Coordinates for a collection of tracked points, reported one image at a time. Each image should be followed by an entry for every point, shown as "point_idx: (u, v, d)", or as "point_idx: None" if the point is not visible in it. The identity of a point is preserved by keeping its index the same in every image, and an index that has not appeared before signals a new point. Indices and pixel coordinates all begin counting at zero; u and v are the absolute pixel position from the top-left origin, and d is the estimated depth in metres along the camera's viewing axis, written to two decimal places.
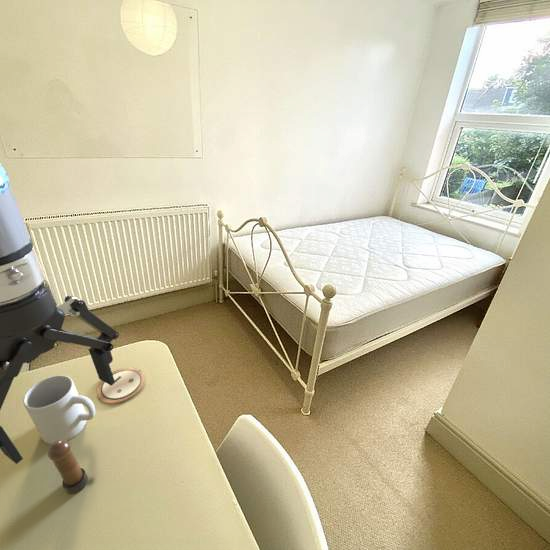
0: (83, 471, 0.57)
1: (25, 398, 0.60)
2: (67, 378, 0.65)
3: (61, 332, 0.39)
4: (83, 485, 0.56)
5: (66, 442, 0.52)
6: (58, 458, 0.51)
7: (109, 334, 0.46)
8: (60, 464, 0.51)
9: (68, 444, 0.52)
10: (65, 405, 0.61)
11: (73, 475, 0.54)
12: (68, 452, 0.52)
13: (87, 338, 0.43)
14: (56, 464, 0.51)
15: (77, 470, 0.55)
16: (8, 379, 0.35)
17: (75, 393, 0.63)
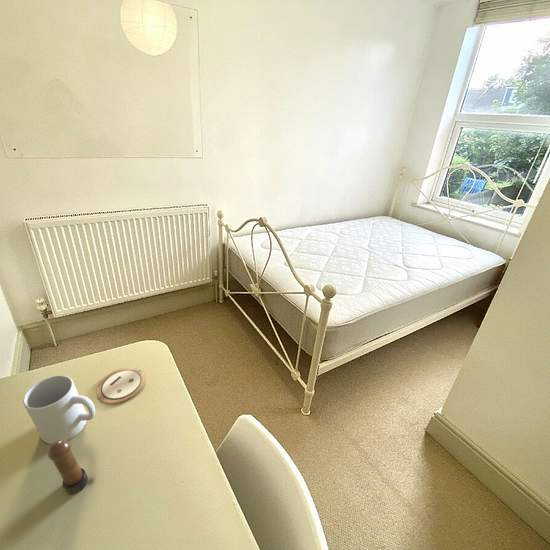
0: (83, 471, 0.57)
1: (25, 398, 0.60)
2: (67, 378, 0.65)
3: None
4: (83, 485, 0.56)
5: (66, 442, 0.52)
6: (58, 458, 0.51)
7: None
8: (60, 464, 0.51)
9: (68, 444, 0.52)
10: (65, 405, 0.61)
11: (73, 475, 0.54)
12: (68, 452, 0.52)
13: None
14: (56, 464, 0.51)
15: (77, 470, 0.55)
16: None
17: (75, 393, 0.63)
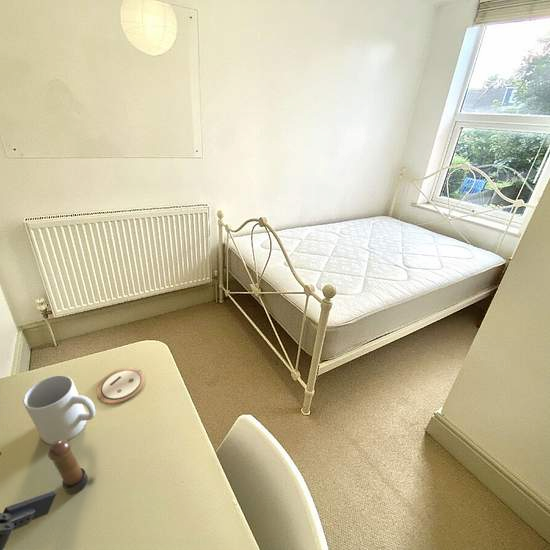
0: (83, 471, 0.57)
1: (25, 398, 0.60)
2: (67, 378, 0.65)
3: None
4: (83, 485, 0.56)
5: (66, 442, 0.52)
6: (58, 458, 0.51)
7: None
8: (60, 464, 0.51)
9: (68, 444, 0.52)
10: (65, 405, 0.61)
11: (73, 475, 0.54)
12: (68, 452, 0.52)
13: None
14: (56, 464, 0.51)
15: (77, 470, 0.55)
16: None
17: (75, 393, 0.63)
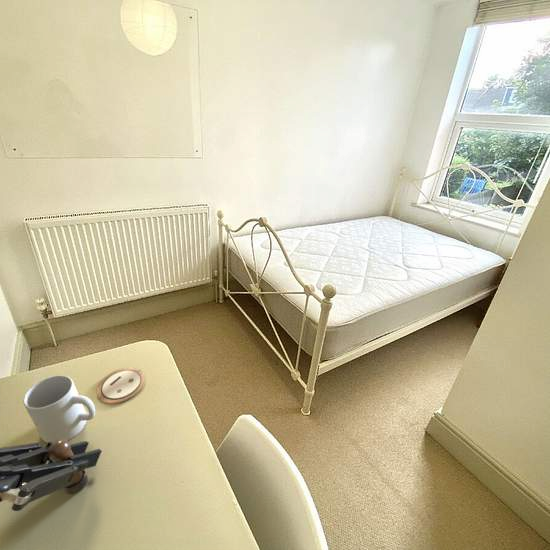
0: (83, 471, 0.57)
1: (25, 398, 0.60)
2: (67, 378, 0.65)
3: None
4: (83, 485, 0.56)
5: (66, 442, 0.52)
6: (58, 458, 0.51)
7: None
8: None
9: (68, 444, 0.52)
10: (65, 405, 0.61)
11: None
12: (68, 452, 0.52)
13: None
14: None
15: None
16: None
17: (75, 393, 0.63)
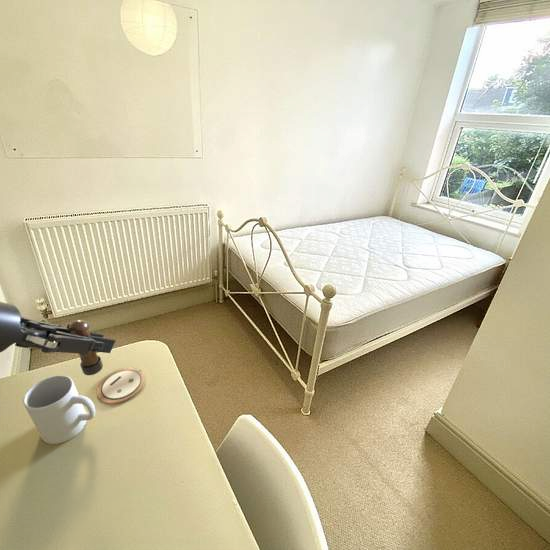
0: (99, 357, 0.62)
1: (25, 398, 0.60)
2: (67, 378, 0.65)
3: (33, 346, 0.49)
4: (99, 368, 0.62)
5: (85, 322, 0.58)
6: (78, 333, 0.56)
7: None
8: None
9: (86, 323, 0.58)
10: (65, 405, 0.61)
11: (90, 356, 0.60)
12: (86, 330, 0.57)
13: None
14: None
15: (94, 352, 0.60)
16: None
17: (75, 393, 0.63)
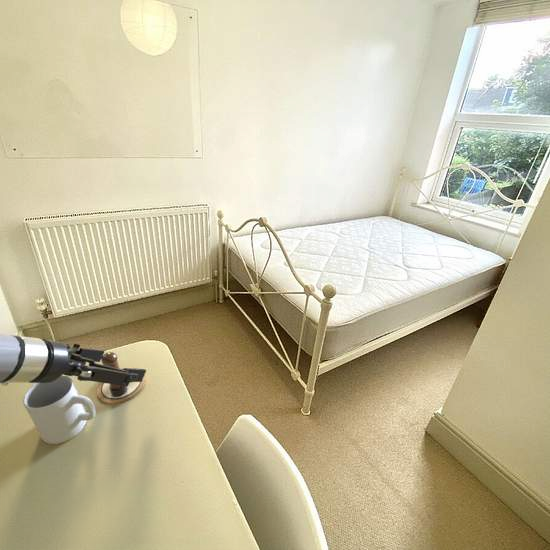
0: None
1: (25, 398, 0.60)
2: (67, 378, 0.65)
3: (75, 375, 0.59)
4: (124, 391, 0.74)
5: (114, 353, 0.70)
6: (109, 363, 0.68)
7: None
8: None
9: (116, 355, 0.70)
10: (65, 405, 0.61)
11: None
12: (116, 360, 0.69)
13: None
14: None
15: None
16: None
17: (75, 393, 0.63)
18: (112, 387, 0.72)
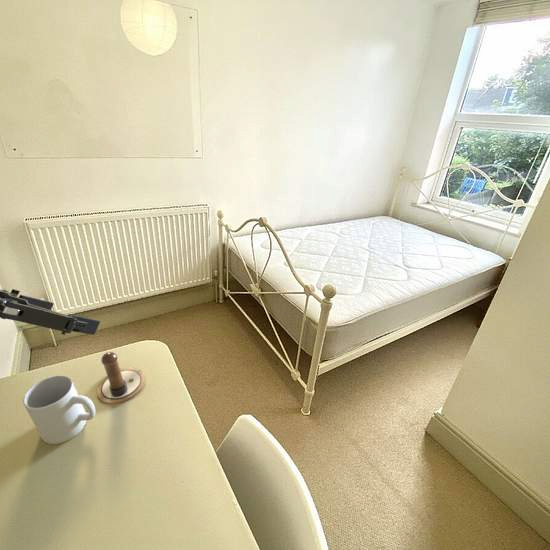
0: (124, 381, 0.74)
1: (25, 398, 0.60)
2: (67, 378, 0.65)
3: None
4: (124, 391, 0.74)
5: (114, 353, 0.70)
6: (109, 363, 0.68)
7: None
8: (110, 369, 0.69)
9: (116, 355, 0.70)
10: (65, 405, 0.61)
11: (118, 381, 0.72)
12: (116, 360, 0.69)
13: None
14: (107, 369, 0.69)
15: (121, 378, 0.72)
16: None
17: (75, 393, 0.63)
18: (112, 387, 0.72)
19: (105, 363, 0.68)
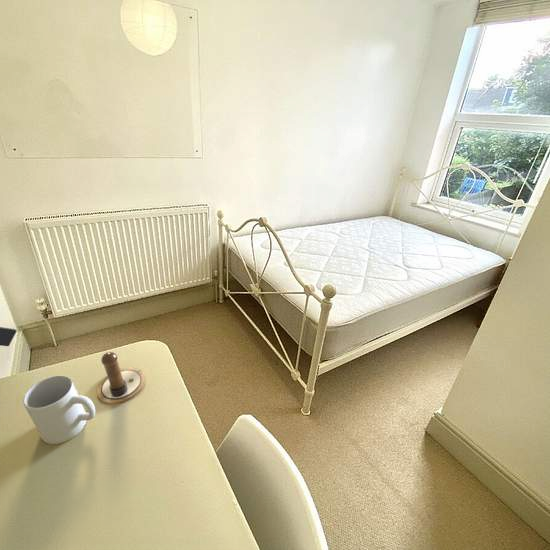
0: (124, 381, 0.74)
1: (25, 398, 0.60)
2: (67, 378, 0.65)
3: None
4: (124, 391, 0.74)
5: (114, 353, 0.70)
6: (109, 363, 0.68)
7: None
8: (110, 369, 0.69)
9: (116, 355, 0.70)
10: (65, 405, 0.61)
11: (118, 381, 0.72)
12: (116, 360, 0.69)
13: None
14: (107, 369, 0.69)
15: (121, 378, 0.72)
16: None
17: (75, 393, 0.63)
18: (112, 387, 0.72)
19: (105, 363, 0.68)
